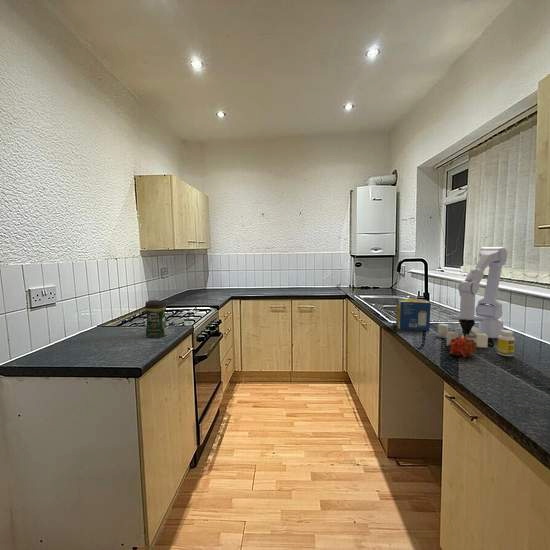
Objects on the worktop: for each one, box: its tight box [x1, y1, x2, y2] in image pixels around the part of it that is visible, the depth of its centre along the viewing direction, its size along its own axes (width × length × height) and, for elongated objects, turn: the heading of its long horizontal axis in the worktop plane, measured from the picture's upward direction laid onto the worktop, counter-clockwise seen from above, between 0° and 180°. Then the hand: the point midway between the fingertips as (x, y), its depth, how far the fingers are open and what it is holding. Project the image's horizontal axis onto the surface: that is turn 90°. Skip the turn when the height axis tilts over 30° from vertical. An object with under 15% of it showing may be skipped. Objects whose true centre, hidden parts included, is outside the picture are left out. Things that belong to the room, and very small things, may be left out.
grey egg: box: [446, 330, 460, 347], centre depth 138 cm, size 4×4×6 cm
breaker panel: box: [456, 325, 489, 348], centre depth 144 cm, size 7×18×6 cm, turn 166°
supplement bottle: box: [496, 329, 515, 357], centre depth 126 cm, size 5×5×10 cm
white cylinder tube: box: [437, 323, 449, 339], centre depth 152 cm, size 4×4×6 cm
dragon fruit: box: [446, 336, 478, 358], centre depth 125 cm, size 8×8×12 cm
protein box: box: [395, 298, 431, 332], centre depth 168 cm, size 10×15×16 cm
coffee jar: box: [144, 299, 168, 339], centre depth 156 cm, size 10×8×19 cm
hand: (465, 335), depth 143 cm, fingers closed, pressing on breaker paddle
